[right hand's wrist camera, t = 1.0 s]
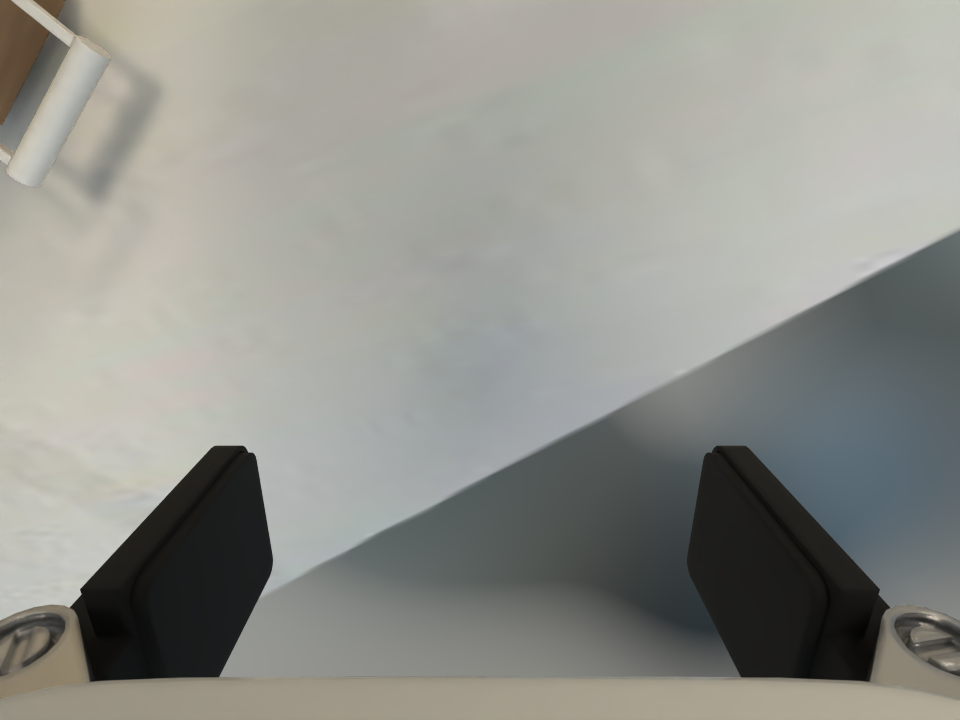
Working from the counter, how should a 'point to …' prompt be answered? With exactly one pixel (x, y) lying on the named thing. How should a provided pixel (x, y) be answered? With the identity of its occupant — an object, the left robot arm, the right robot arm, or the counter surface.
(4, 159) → the drawer
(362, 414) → the counter surface
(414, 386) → the counter surface
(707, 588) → the right robot arm
